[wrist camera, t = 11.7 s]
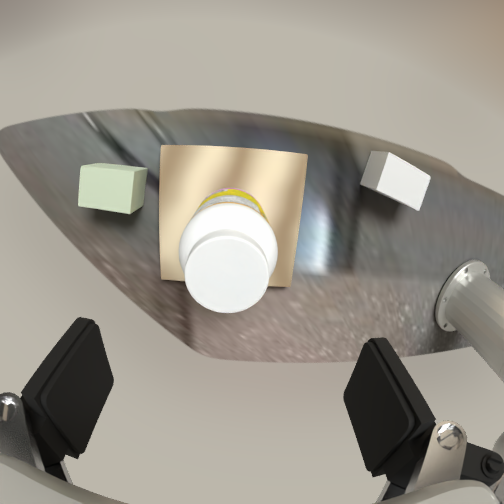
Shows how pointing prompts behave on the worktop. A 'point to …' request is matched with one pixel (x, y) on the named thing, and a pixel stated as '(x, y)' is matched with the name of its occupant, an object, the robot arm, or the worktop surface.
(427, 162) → the worktop surface
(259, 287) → the supplement bottle
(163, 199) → the birch board
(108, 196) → the green block
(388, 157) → the white block
